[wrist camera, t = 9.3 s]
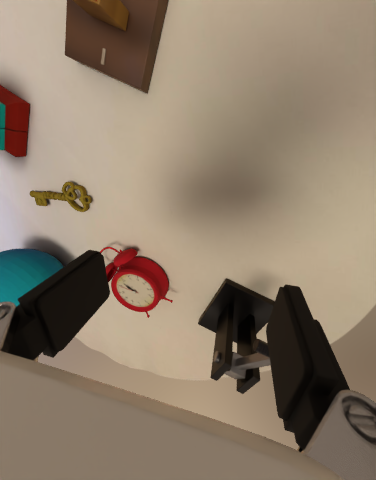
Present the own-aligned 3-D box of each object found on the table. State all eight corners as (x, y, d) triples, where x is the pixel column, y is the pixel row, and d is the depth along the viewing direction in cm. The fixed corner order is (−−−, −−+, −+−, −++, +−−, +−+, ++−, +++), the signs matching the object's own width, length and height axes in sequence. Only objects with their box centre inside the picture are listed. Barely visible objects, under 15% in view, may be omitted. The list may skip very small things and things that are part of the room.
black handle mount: (226, 278, 33) (220, 337, 23) (279, 303, 33) (297, 375, 23) (199, 319, 39) (184, 381, 29) (244, 341, 39) (245, 412, 28)
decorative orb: (75, 239, 38) (-12, 290, 24) (92, 298, 44) (30, 362, 31) (15, 232, 41) (-91, 272, 28) (39, 287, 47) (-38, 341, 34)
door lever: (260, 331, 20) (257, 356, 18) (304, 353, 20) (305, 379, 18) (216, 350, 29) (212, 368, 28) (246, 365, 29) (244, 383, 27)
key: (32, 206, 35) (23, 177, 32) (39, 204, 36) (30, 176, 34) (90, 213, 33) (85, 183, 30) (95, 211, 34) (90, 182, 31)
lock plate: (85, -62, 19) (68, -84, 18) (173, -24, 19) (166, -42, 17) (77, 61, 24) (63, 54, 22) (147, 93, 24) (139, 89, 22)
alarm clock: (144, 324, 38) (73, 286, 33) (151, 298, 43) (91, 261, 38) (179, 302, 33) (102, 253, 28) (182, 275, 38) (117, 230, 33)
